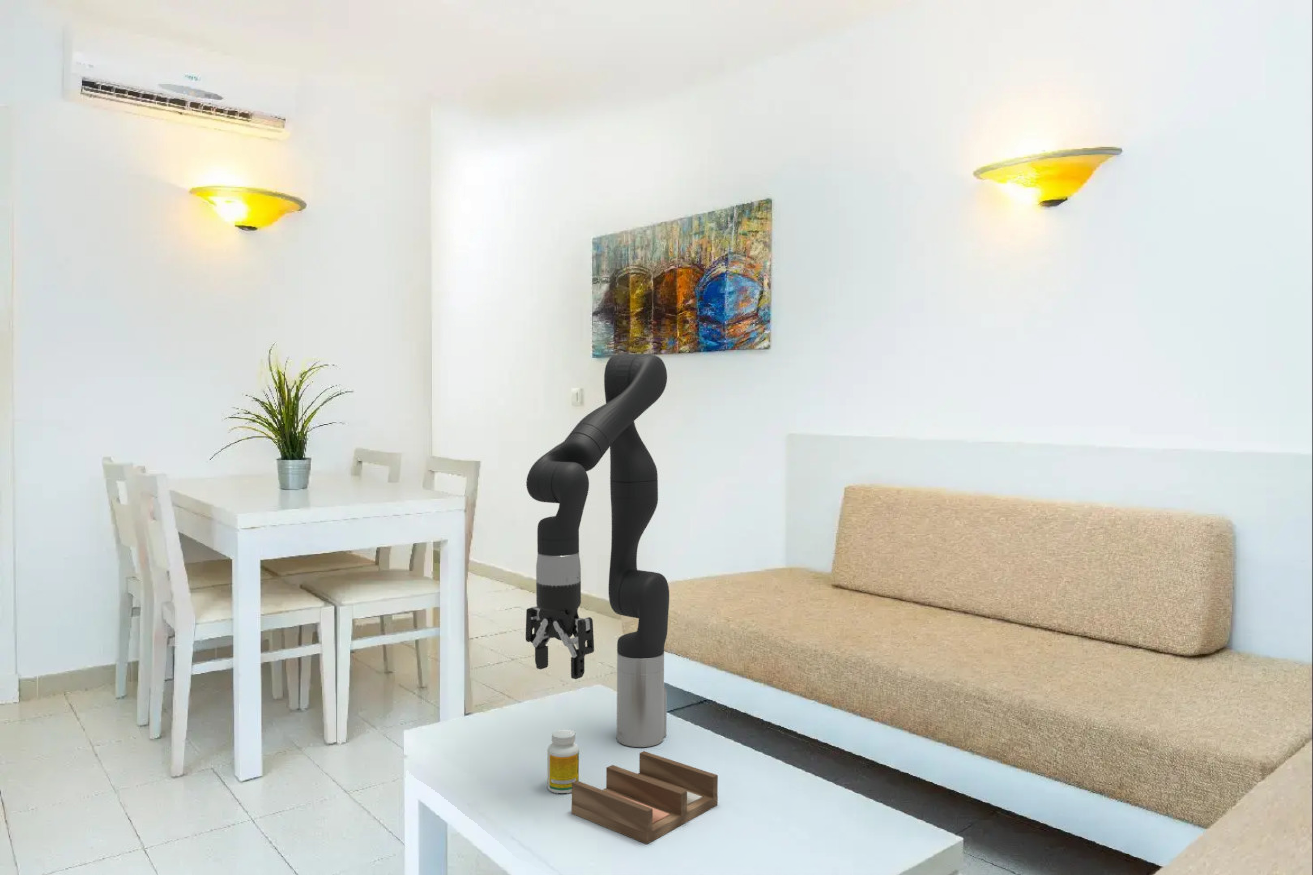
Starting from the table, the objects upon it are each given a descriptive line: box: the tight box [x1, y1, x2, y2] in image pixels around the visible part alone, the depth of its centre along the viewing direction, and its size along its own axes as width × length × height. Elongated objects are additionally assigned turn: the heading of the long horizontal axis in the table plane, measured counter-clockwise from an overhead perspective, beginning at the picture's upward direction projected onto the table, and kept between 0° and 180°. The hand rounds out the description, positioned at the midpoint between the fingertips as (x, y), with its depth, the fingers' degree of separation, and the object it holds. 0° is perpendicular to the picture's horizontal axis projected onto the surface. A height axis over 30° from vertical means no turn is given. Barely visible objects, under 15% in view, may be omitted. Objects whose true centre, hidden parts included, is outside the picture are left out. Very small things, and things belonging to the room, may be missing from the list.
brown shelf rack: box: [570, 750, 719, 845], centre depth 154 cm, size 18×16×5 cm
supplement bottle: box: [546, 729, 580, 794], centre depth 161 cm, size 5×5×10 cm
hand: (559, 672), depth 161 cm, fingers open, 8 cm apart
